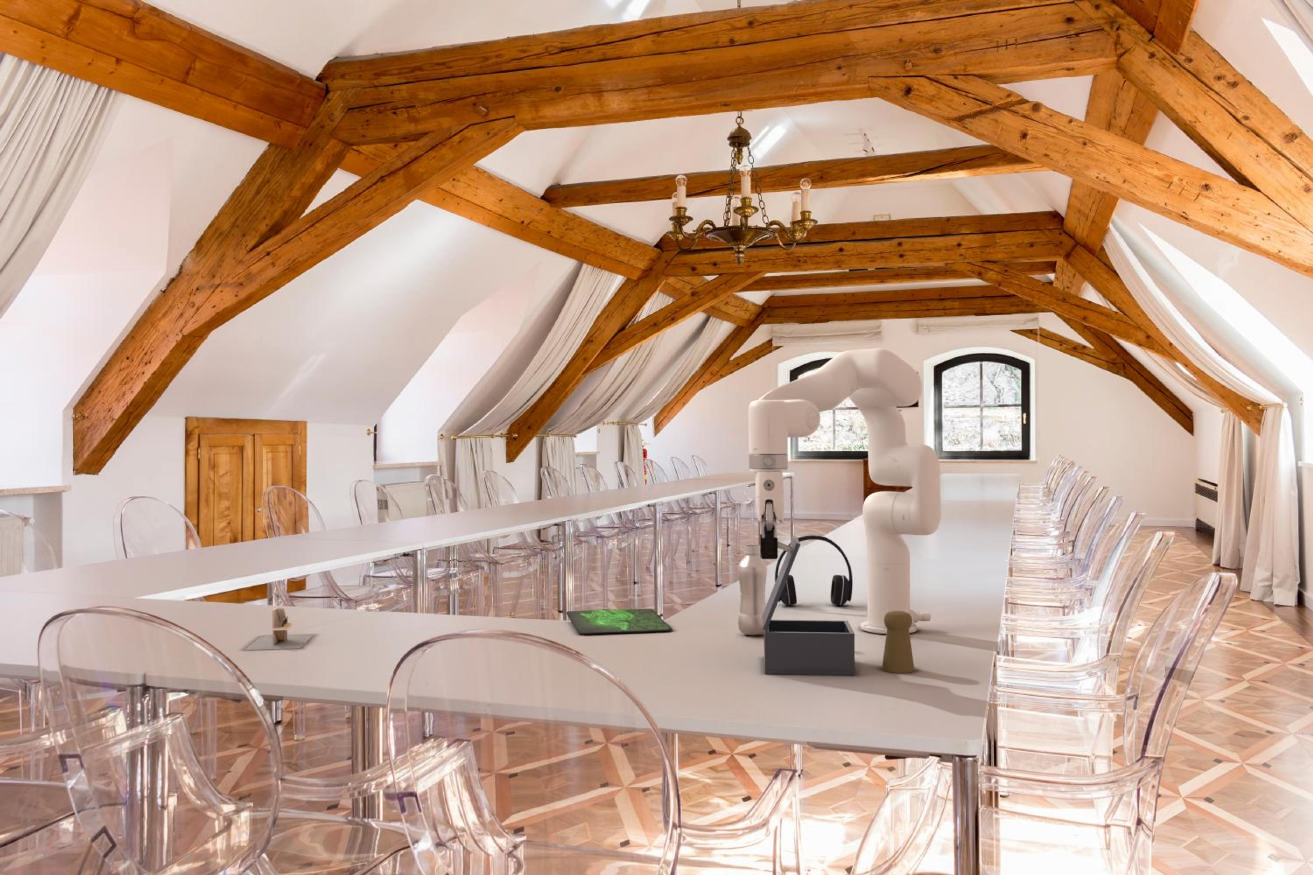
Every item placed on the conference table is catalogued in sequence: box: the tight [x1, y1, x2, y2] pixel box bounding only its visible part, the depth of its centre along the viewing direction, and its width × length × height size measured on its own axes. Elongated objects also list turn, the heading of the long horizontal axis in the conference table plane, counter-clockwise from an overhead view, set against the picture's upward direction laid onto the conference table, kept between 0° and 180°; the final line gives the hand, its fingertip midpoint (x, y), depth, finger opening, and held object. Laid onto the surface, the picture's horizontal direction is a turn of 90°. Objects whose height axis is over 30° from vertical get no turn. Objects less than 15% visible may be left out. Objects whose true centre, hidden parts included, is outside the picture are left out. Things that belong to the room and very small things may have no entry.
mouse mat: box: [566, 608, 673, 635], centre depth 249 cm, size 27×22×1 cm
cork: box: [881, 611, 915, 674], centre depth 199 cm, size 6×6×11 cm
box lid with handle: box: [762, 535, 801, 631], centre depth 202 cm, size 17×14×6 cm
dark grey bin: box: [763, 619, 856, 676], centre depth 201 cm, size 17×14×8 cm
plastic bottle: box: [737, 544, 768, 636], centre depth 234 cm, size 6×7×20 cm
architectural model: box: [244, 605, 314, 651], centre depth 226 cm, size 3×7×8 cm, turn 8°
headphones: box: [774, 534, 854, 607], centre depth 273 cm, size 20×7×18 cm, turn 89°
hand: (768, 555), depth 202 cm, fingers closed on box lid with handle, 6 cm apart
